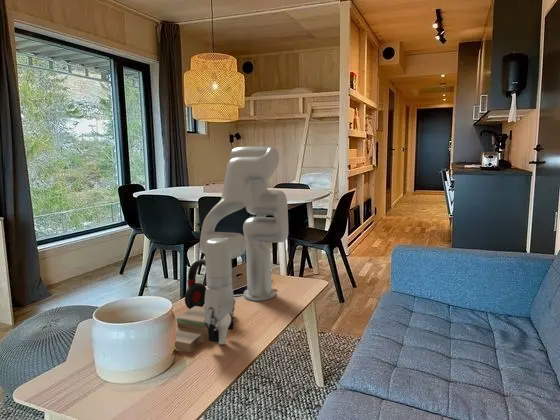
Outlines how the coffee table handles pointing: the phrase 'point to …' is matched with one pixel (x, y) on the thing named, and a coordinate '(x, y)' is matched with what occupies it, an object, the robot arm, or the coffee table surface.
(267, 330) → the coffee table surface
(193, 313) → the stand
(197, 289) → the headphones
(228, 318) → the lightbulb
